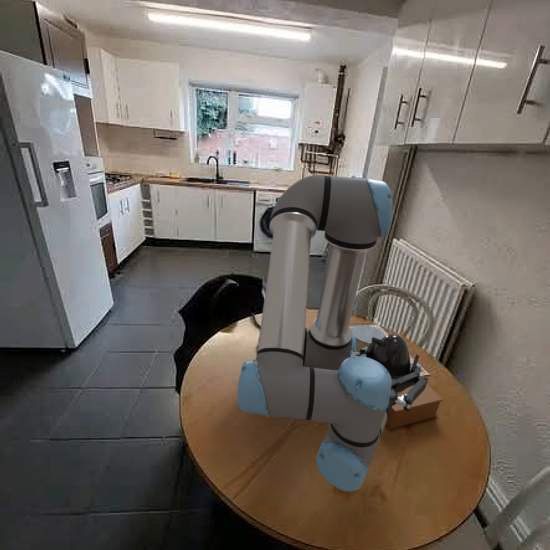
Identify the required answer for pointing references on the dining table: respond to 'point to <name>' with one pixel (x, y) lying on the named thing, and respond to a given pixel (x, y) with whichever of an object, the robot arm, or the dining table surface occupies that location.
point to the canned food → (365, 335)
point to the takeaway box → (415, 409)
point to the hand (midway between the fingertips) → (394, 351)
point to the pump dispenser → (392, 355)
